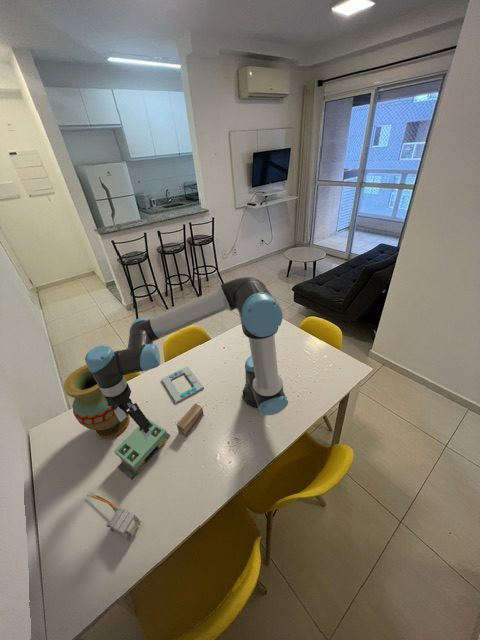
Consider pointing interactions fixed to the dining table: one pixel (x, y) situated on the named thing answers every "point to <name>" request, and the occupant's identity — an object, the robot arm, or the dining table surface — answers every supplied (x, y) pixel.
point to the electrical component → (122, 520)
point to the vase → (93, 405)
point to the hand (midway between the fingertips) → (135, 427)
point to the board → (140, 445)
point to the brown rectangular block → (190, 419)
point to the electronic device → (179, 397)
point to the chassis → (128, 469)
